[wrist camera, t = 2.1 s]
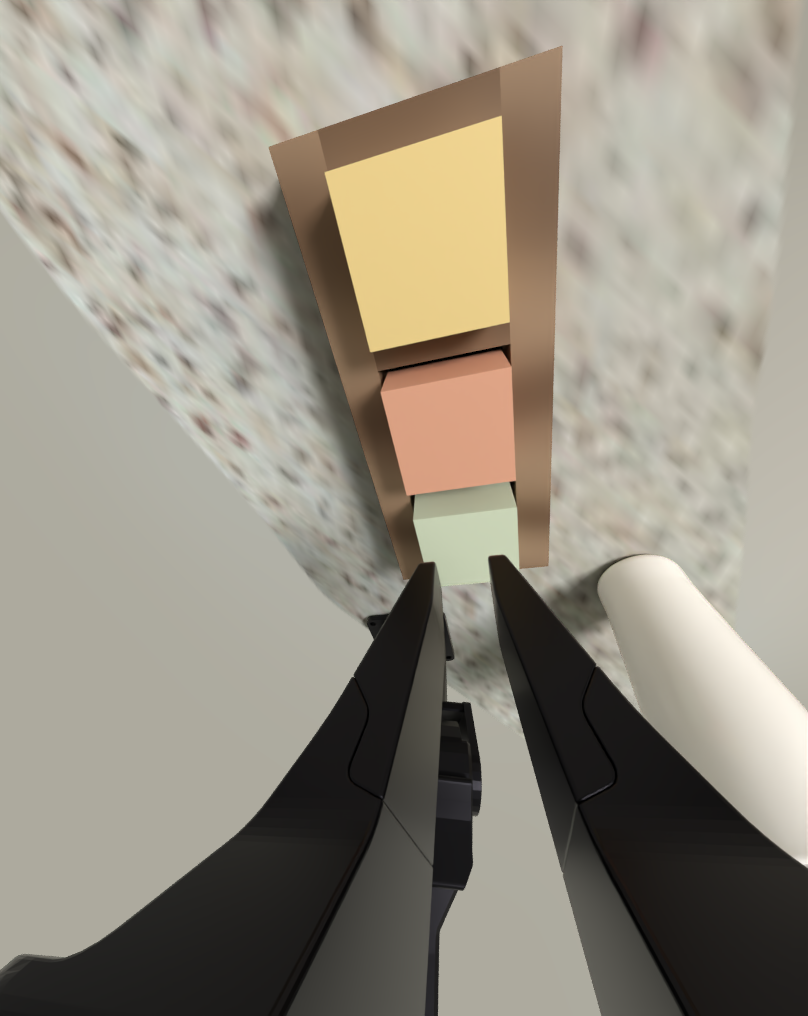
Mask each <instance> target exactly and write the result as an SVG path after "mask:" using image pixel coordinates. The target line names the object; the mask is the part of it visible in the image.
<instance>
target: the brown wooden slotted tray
mask: <svg viewBox="0 0 808 1016" xmlns="http://www.w3.org/2000/svg"><path fill="white" fill-rule="evenodd" d="M561 80H562V46H560V47H557V48H554V49H551V50H548V51H545V52H543V53H540V54H537V55H534V56H531V57H528V58H525V59H522V60H519V61H516V62H514V63H511V64H508V65H505V66H502V67H499V68H496V69H493V70H490V71H487V72H485V73H482V74H479V75H476V76H473V77H470V78H467V79H464V80H461V81H458V82H456V83H453V84H450V85H447V86H444V87H441V88H438V89H435V90H432V91H429V92H427V93H424V94H421V95H418V96H415V97H412V98H409V99H406V100H403V101H400V102H398V103H395V104H392V105H389V106H386V107H383V108H380V109H377V110H374V111H371V112H369V113H366V114H363V115H360V116H357V117H354V118H351V119H348V120H345V121H342V122H340V123H337V124H334V125H331V126H328V127H325V128H322V129H319V130H316V131H313V132H311V133H308V134H305V135H302V136H299V137H296V138H293V139H290V140H287V141H284V142H282V143H279V144H276V145H273V146H270V147H269V150H270V154H271V157H272V160H273V163H274V166H275V170H276V173H277V176H278V179H279V182H280V186H281V189H282V192H283V195H284V198H285V202H286V205H287V208H288V211H289V214H290V218H291V221H292V224H293V227H294V230H295V234H296V237H297V240H298V243H299V246H300V250H301V253H302V256H303V259H304V262H305V266H306V269H307V272H308V275H309V278H310V282H311V285H312V288H313V291H314V294H315V298H316V301H317V304H318V307H319V310H320V314H321V317H322V320H323V323H324V326H325V330H326V333H327V336H328V339H329V342H330V346H331V349H332V352H333V355H334V358H335V362H336V365H337V368H338V371H339V374H340V378H341V381H342V384H343V387H344V390H345V394H346V397H347V400H348V403H349V406H350V410H351V413H352V416H353V419H354V422H355V426H356V429H357V432H358V435H359V438H360V442H361V445H362V448H363V451H364V454H365V458H366V461H367V464H368V467H369V470H370V474H371V477H372V480H373V483H374V487H375V490H376V493H377V496H378V499H379V503H380V506H381V509H382V512H383V515H384V519H385V522H386V525H387V528H388V531H389V535H390V538H391V541H392V544H393V547H394V551H395V554H396V557H397V560H398V563H399V567H400V570H401V573H402V576H403V579H404V580H406V579H410V578H411V576H412V574H413V573H414V571H415V569H416V568H417V566H418V564H420V563H422V562H424V561H423V557H422V554H421V550H420V546H419V542H418V538H417V534H416V530H415V526H414V522H413V515H414V503H415V495H408V496H407V495H406V491H405V487H404V483H403V479H402V475H401V471H400V467H399V463H398V459H397V455H396V451H395V447H394V444H393V440H392V436H391V432H390V428H389V424H388V420H387V416H386V412H385V408H384V404H383V400H382V396H381V389H382V387H383V384H384V381H385V379H386V376H387V373H388V370H387V369H391V368H396V367H401V366H406V365H411V364H416V363H420V362H425V361H430V360H435V359H440V358H445V357H450V356H454V355H459V354H464V353H469V352H474V351H479V350H484V349H488V348H493V347H498V346H502V350H503V353H504V355H505V357H506V358H507V360H508V362H509V363H510V365H511V367H512V391H513V417H514V442H515V468H516V481H510V482H509V483H510V486H511V489H512V492H513V496H514V499H515V502H516V506H517V519H518V545H519V569H522V568H533V567H544V566H548V561H549V524H550V487H551V450H552V413H553V376H554V339H555V302H556V265H557V228H558V191H559V154H560V117H561ZM499 116H502V136H503V161H504V187H505V212H506V238H507V264H508V289H509V315H510V322H509V323H504V324H499V325H495V326H490V327H486V328H481V329H476V330H472V331H467V332H462V333H458V334H453V335H449V336H444V337H439V338H435V339H430V340H426V341H421V342H416V343H412V344H407V345H402V346H398V347H393V348H389V349H384V350H379V351H375V352H370V349H369V345H368V341H367V337H366V334H365V330H364V326H363V322H362V318H361V314H360V310H359V306H358V302H357V298H356V294H355V290H354V286H353V282H352V279H351V275H350V271H349V267H348V263H347V259H346V255H345V251H344V247H343V243H342V239H341V235H340V231H339V228H338V224H337V220H336V216H335V212H334V208H333V204H332V200H331V196H330V192H329V188H328V184H327V180H326V176H325V173H324V172H327V171H330V170H333V169H336V168H340V167H343V166H346V165H349V164H352V163H355V162H358V161H361V160H365V159H368V158H371V157H374V156H377V155H380V154H383V153H386V152H390V151H393V150H396V149H399V148H402V147H405V146H408V145H411V144H414V143H418V142H421V141H424V140H427V139H430V138H433V137H436V136H439V135H443V134H446V133H449V132H452V131H455V130H458V129H461V128H464V127H468V126H471V125H474V124H477V123H480V122H483V121H486V120H489V119H492V118H496V117H499Z"/></svg>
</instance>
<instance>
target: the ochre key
mask: <svg viewBox="0 0 808 1016" xmlns="http://www.w3.org/2000/svg"><path fill="white" fill-rule="evenodd" d="M324 173H325V176H326V180H327V184H328V188H329V192H330V196H331V200H332V204H333V208H334V212H335V216H336V220H337V224H338V228H339V231H340V235H341V239H342V243H343V247H344V251H345V255H346V259H347V263H348V267H349V271H350V275H351V279H352V282H353V286H354V290H355V294H356V298H357V302H358V306H359V310H360V314H361V318H362V322H363V326H364V330H365V334H366V337H367V341H368V345H369V349H370V352H375V351H379V350H384V349H389V348H393V347H398V346H402V345H407V344H412V343H416V342H421V341H426V340H430V339H435V338H439V337H444V336H449V335H453V334H458V333H462V332H467V331H472V330H476V329H481V328H486V327H490V326H495V325H499V324H504V323H509V322H510V315H509V289H508V264H507V238H506V212H505V187H504V161H503V136H502V116H499V117H496V118H492V119H489V120H486V121H483V122H480V123H477V124H474V125H471V126H468V127H464V128H461V129H458V130H455V131H452V132H449V133H446V134H443V135H439V136H436V137H433V138H430V139H427V140H424V141H421V142H418V143H414V144H411V145H408V146H405V147H402V148H399V149H396V150H393V151H390V152H386V153H383V154H380V155H377V156H374V157H371V158H368V159H365V160H361V161H358V162H355V163H352V164H349V165H346V166H343V167H340V168H336V169H333V170H330V171H327V172H324Z"/></svg>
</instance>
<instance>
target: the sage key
mask: <svg viewBox="0 0 808 1016" xmlns="http://www.w3.org/2000/svg"><path fill="white" fill-rule="evenodd" d="M413 522H414V526H415V530H416V534H417V538H418V542H419V546H420V550H421V554H422V557H423V561H424V562H435V563H436V566H437V570H438V575H439V579H440V583H441V586H452V585H463V584H474V583H485V582H490V575H489V566H488V557H489V556H491V555H501V554H503V555H505V556H507V558H508V559H509V560H510V561H511V562H512V564H513V565H514V566H515V567H516V568H517V570H518V571H519V572H520V570H519V545H518V519H517V506H516V502H515V499H514V496H513V492H512V489H511V486H510V483H509V482H503V483H495V484H488V485H481V486H474V487H466V488H459V489H452V490H445V491H437V492H430V493H423V494H416V495H415V503H414V515H413Z"/></svg>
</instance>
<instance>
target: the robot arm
mask: <svg viewBox="0 0 808 1016" xmlns="http://www.w3.org/2000/svg"><path fill="white" fill-rule="evenodd" d="M488 566H489V575H490V584H491V591H492V597H493V604H494V611H495V618H496V625H497V631H498V638H499V643H500V648H501V652H502V656H503V659H504V663H505V667H506V670H507V674H508V677H509V681H510V685H511V688H512V692H513V696H514V699H515V703H516V707H517V710H518V714H519V717H520V721H521V725H522V728H523V732H524V736H525V739H526V743H527V746H528V750H529V754H530V757H531V761H532V765H533V768H534V772H535V776H536V779H537V783H538V787H539V790H540V794H541V797H542V801H543V804H544V808H545V812H546V816H547V819H548V823H549V826H550V830H551V834H552V837H553V841H554V845H555V848H556V852H557V856H558V859H559V863H560V867H561V870H562V872H563V878H564V881H565V885H566V888H567V892H568V895H569V899H570V903H571V907H572V910H573V914H574V918H575V921H576V925H577V929H578V932H579V936H580V939H581V943H582V947H583V950H584V954H585V958H586V961H587V965H588V968H589V972H590V976H591V979H592V983H593V987H594V990H595V994H596V997H597V1001H598V1005H599V1008H600V1012H601V1016H808V868H807V867H806V866H804V865H803V864H801V863H800V862H799V861H797V860H796V859H794V858H793V857H792V856H790V855H789V854H788V853H786V852H785V851H784V850H782V849H781V848H780V847H779V846H777V845H776V844H775V843H774V842H773V841H771V840H770V839H769V838H768V837H766V836H765V835H764V834H763V833H762V832H761V831H759V830H758V829H757V828H756V827H755V826H754V825H753V824H752V823H750V822H749V821H748V820H747V819H746V818H745V817H744V816H743V815H742V814H741V813H740V812H739V811H738V810H737V809H736V808H735V807H734V806H733V805H732V804H731V803H730V802H729V801H728V800H727V799H726V798H724V797H723V796H722V795H721V794H720V793H719V792H718V791H717V790H716V789H715V788H714V787H713V786H712V785H711V784H710V783H709V782H708V781H707V780H706V779H705V778H704V777H703V776H702V775H701V774H700V773H699V772H698V771H697V770H696V769H695V768H694V767H693V766H692V765H691V764H690V763H689V762H688V761H687V760H686V759H685V758H684V757H683V756H682V755H681V754H680V753H679V752H678V751H677V750H676V749H675V748H674V747H673V746H672V745H671V744H670V743H669V742H668V741H667V740H666V739H665V738H664V737H663V736H662V735H661V734H660V733H659V732H658V731H657V730H656V729H655V728H654V727H653V726H652V725H651V724H650V723H649V722H648V721H647V720H646V719H645V718H644V717H643V716H642V715H641V714H640V713H639V712H638V711H637V710H636V709H635V708H634V707H633V705H632V704H631V703H630V702H629V701H628V700H627V699H626V697H625V696H624V695H623V694H622V693H621V692H620V691H619V690H618V688H617V687H616V686H615V685H614V684H613V683H612V682H611V680H610V679H609V678H608V677H607V676H606V674H605V673H604V672H603V671H602V670H601V668H600V667H598V666H597V667H596V663H595V662H594V660H593V659H592V658H591V657H590V656H589V654H588V653H587V652H586V651H585V650H584V648H583V647H582V646H581V645H580V644H579V642H578V641H577V640H576V639H575V638H574V636H573V635H572V634H571V633H570V632H569V630H568V629H567V628H566V627H565V626H564V624H563V623H562V622H561V621H560V620H559V618H558V617H557V616H556V615H555V614H554V613H553V611H552V610H551V609H550V608H549V607H548V605H547V604H546V603H545V602H544V601H543V599H542V598H541V597H540V596H539V595H538V593H537V592H536V591H535V590H534V589H533V587H532V586H531V585H530V584H529V583H528V581H527V580H526V579H525V578H524V577H523V575H522V574H521V573H520V572H519V571H518V570H517V568H516V567H515V566H514V565H513V564H512V562H511V561H510V560H509V559H508V558H507V556H505V555H503V554H501V555H491V556H489V557H488ZM367 625H368V627H369V630H370V632H371V634H372V636H373V638H374V641H373V642H372V644H371V646H370V648H369V649H368V651H367V653H366V654H365V656H364V658H363V660H362V661H361V663H360V665H359V666H358V668H357V670H356V671H355V673H354V677H355V678H354V677H352V678H351V679H350V681H349V683H348V685H347V686H346V688H345V690H344V692H343V693H342V695H341V696H340V698H339V700H338V701H337V703H336V704H335V706H334V708H333V709H332V711H331V713H330V714H329V716H328V717H327V718H326V720H325V721H324V723H323V724H322V726H321V727H320V728H319V730H318V732H317V733H316V734H315V736H314V737H313V738H312V740H311V741H310V743H309V744H308V745H307V747H306V748H305V749H304V751H303V752H302V754H301V755H300V756H299V758H298V759H297V760H296V762H295V763H294V765H293V766H292V767H291V769H290V770H289V771H288V773H287V774H286V775H285V777H284V778H283V780H282V781H281V782H280V784H279V785H278V786H277V788H276V789H275V791H274V792H273V794H272V795H271V796H270V798H269V799H268V800H267V801H266V803H265V804H264V805H263V807H262V808H261V809H260V810H259V811H258V812H257V814H256V815H255V816H254V817H253V818H252V819H251V820H250V821H249V822H248V823H247V825H245V827H243V828H242V829H241V830H240V831H239V833H237V834H236V835H235V836H234V837H232V838H231V839H230V840H229V841H228V842H226V843H225V844H224V845H223V846H222V847H220V848H219V849H217V850H216V851H215V852H214V853H212V854H211V855H210V856H209V857H207V858H206V859H205V860H203V861H202V862H201V863H200V864H198V865H197V866H196V867H194V868H193V869H192V870H191V871H189V872H188V873H187V874H186V875H184V876H183V877H182V878H181V879H179V880H178V881H177V882H175V883H174V884H173V885H172V886H170V887H169V888H168V889H167V890H165V891H164V892H163V893H161V894H160V895H159V896H158V897H157V898H155V899H154V900H153V901H151V902H150V903H149V904H148V905H146V906H145V907H144V908H143V909H141V910H140V911H139V912H137V913H136V914H135V915H133V916H132V917H131V918H130V919H128V920H127V921H126V922H124V923H123V924H122V925H121V926H119V927H118V928H117V929H115V930H114V931H113V932H111V933H110V934H108V935H107V936H106V937H104V938H103V939H101V940H100V941H98V942H97V943H95V944H93V945H91V946H90V947H88V948H86V949H84V950H83V951H81V952H78V953H76V954H73V955H71V956H68V957H65V958H64V957H54V956H42V955H32V954H23V955H19V956H17V957H15V958H14V959H13V960H12V961H10V962H9V963H8V964H7V965H6V966H5V967H3V968H2V969H1V970H0V1016H438V977H439V976H438V975H439V973H438V971H439V933H440V929H441V927H442V925H443V922H444V920H445V918H446V916H447V913H448V911H449V908H450V907H451V904H452V902H453V900H454V898H455V895H456V893H457V891H458V890H461V891H463V890H464V888H465V886H466V883H467V881H468V878H469V875H470V872H471V869H472V866H473V855H472V816H477V815H478V813H479V810H480V804H481V792H482V786H481V785H482V779H481V763H480V756H479V751H478V744H477V739H476V733H475V727H474V721H473V716H472V709H471V704H470V703H468V702H462V703H456V702H447V680H446V661H450V660H453V659H454V650H453V646H452V642H451V638H450V633H449V629H448V625H447V620H446V616H445V614H444V613H443V605H442V591H441V583H440V579H439V575H438V570H437V566H436V563H435V562H422V563H420V564H418V566H417V568H416V569H415V571H414V573H413V574H412V576H411V578H410V579H409V581H408V583H407V585H406V586H405V588H404V590H403V591H402V593H401V595H400V596H399V598H398V600H397V602H396V603H395V605H394V607H393V608H392V610H391V612H390V614H389V615H382V616H371V617H369V618H368V620H367Z"/></svg>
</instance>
